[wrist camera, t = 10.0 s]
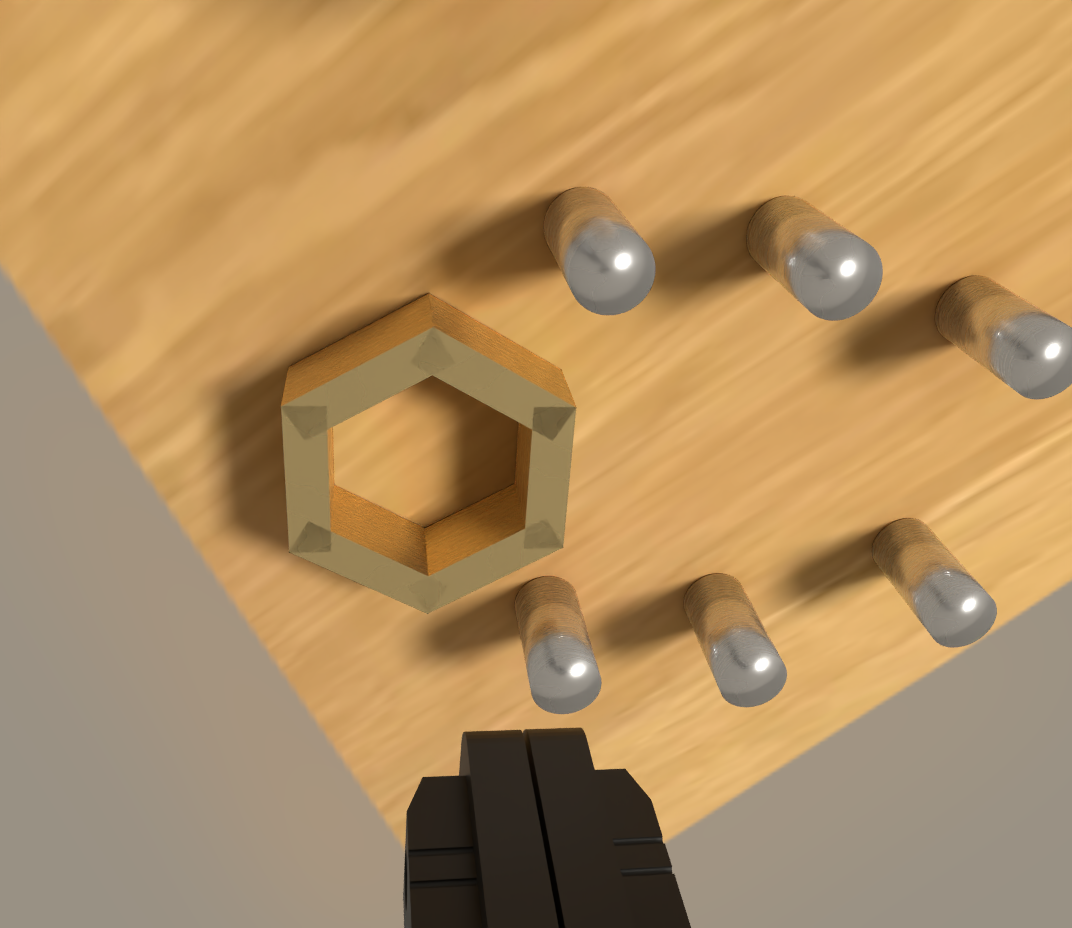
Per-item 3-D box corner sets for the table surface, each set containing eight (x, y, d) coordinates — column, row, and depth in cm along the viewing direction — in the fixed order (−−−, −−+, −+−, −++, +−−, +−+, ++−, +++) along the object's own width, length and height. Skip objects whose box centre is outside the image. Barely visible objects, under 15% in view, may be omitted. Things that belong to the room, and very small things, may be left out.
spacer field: (512, 629, 32) (528, 715, 29) (546, 185, 26) (572, 228, 22) (907, 619, 34) (967, 698, 31) (1031, 206, 28) (1124, 248, 24)
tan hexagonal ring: (298, 566, 30) (292, 617, 28) (284, 290, 26) (276, 324, 24) (545, 561, 31) (557, 610, 29) (567, 295, 27) (584, 329, 25)
